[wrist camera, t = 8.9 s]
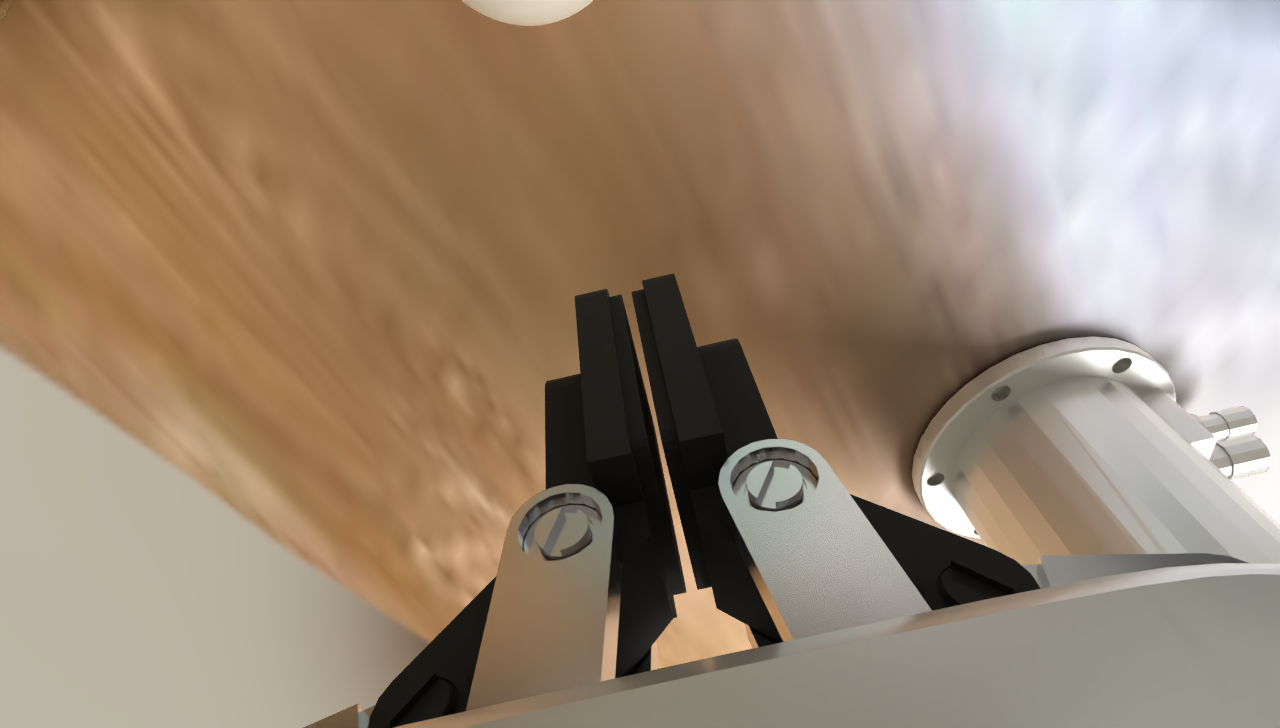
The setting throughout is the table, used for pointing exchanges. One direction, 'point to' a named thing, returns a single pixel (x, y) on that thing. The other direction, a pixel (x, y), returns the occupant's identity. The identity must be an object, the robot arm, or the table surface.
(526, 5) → the cue ball
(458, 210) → the table surface
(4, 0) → the bread roll
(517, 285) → the table surface
